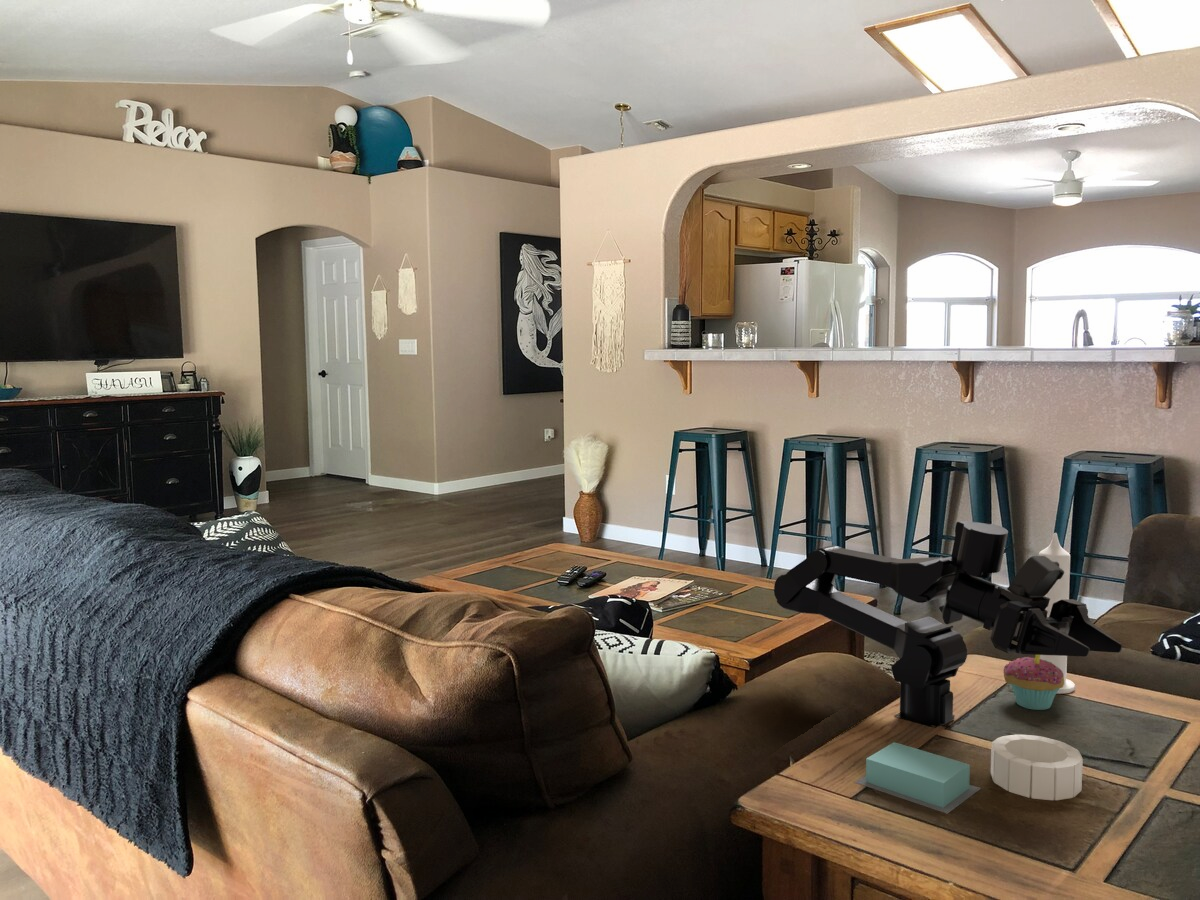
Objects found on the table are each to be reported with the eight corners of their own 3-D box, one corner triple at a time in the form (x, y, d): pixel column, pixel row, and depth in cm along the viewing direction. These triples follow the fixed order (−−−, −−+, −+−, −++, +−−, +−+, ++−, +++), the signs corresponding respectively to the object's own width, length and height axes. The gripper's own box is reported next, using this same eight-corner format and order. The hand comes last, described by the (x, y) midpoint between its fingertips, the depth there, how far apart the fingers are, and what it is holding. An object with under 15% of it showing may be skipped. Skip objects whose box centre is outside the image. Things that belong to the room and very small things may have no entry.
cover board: (865, 781, 119) (866, 758, 119) (893, 764, 124) (893, 742, 124) (943, 807, 112) (943, 783, 112) (969, 788, 117) (969, 764, 116)
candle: (1074, 682, 155) (1079, 530, 153) (1075, 696, 149) (1081, 538, 147) (1026, 676, 158) (1031, 527, 156) (1025, 690, 152) (1030, 535, 150)
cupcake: (1073, 714, 142) (1076, 635, 140) (1016, 715, 142) (1018, 636, 141) (1047, 694, 150) (1050, 619, 149) (993, 694, 150) (995, 620, 149)
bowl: (977, 786, 119) (978, 751, 118) (1010, 761, 126) (1011, 728, 125) (1062, 812, 112) (1063, 775, 111) (1092, 784, 119) (1093, 749, 118)
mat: (854, 786, 119) (854, 781, 119) (890, 764, 125) (890, 759, 125) (947, 818, 110) (947, 813, 110) (980, 792, 117) (980, 788, 117)
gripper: (970, 547, 124) (1090, 590, 112) (1040, 549, 135) (1155, 588, 123) (947, 628, 125) (1063, 679, 113) (1018, 623, 137) (1129, 669, 125)
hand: (1105, 650), depth 119 cm, fingers open, 9 cm apart
